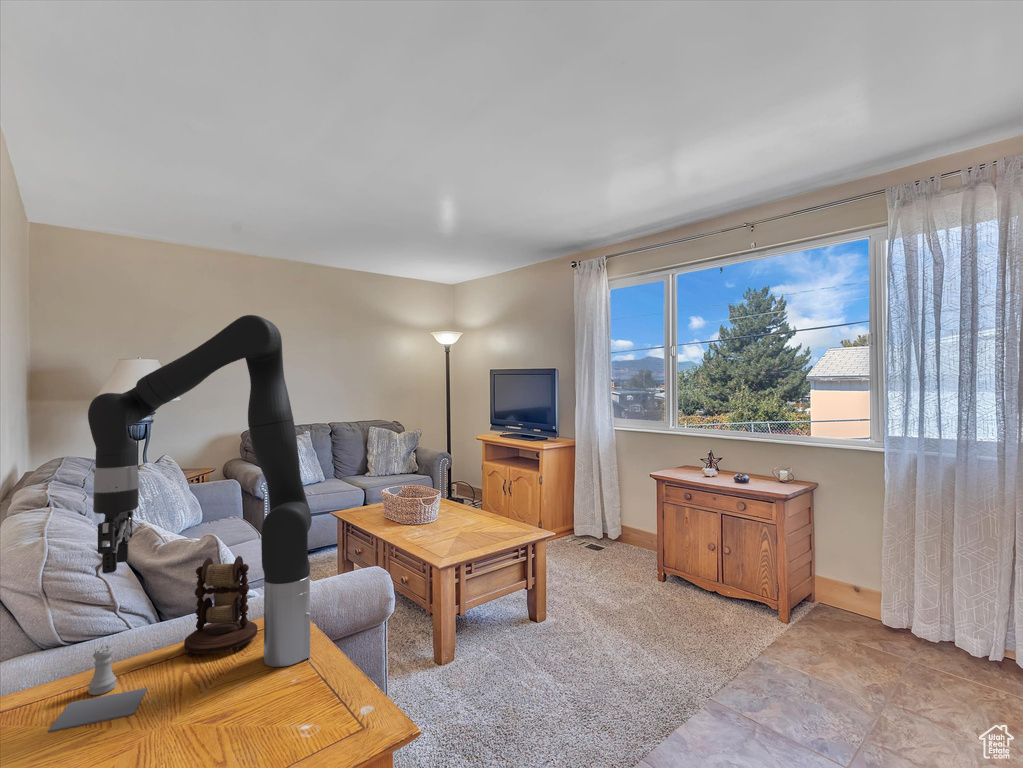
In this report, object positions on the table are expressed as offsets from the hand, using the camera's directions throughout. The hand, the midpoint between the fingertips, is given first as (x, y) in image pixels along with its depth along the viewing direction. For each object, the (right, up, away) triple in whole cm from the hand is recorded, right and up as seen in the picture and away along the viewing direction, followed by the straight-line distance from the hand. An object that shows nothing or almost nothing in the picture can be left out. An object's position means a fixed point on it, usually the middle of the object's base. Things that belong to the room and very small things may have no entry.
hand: (115, 566), depth 107 cm
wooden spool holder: (+16, -22, +11) cm, 30 cm away
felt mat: (+8, -21, -14) cm, 26 cm away
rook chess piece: (+3, -22, -7) cm, 23 cm away
